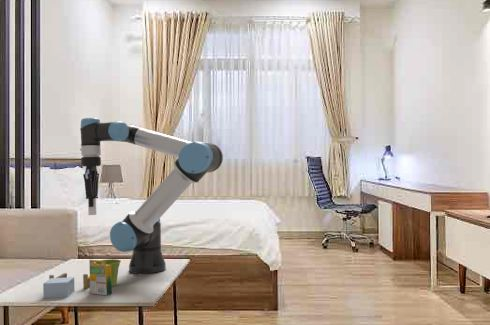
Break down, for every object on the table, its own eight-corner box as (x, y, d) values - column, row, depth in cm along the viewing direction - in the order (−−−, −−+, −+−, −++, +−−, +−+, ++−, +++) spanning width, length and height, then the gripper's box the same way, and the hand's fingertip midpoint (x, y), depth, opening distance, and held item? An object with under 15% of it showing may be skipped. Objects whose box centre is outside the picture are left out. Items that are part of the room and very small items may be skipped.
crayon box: (112, 293, 168) (111, 259, 168) (106, 295, 165) (105, 260, 166) (95, 291, 171) (94, 258, 171) (89, 293, 169) (88, 259, 169)
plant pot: (126, 283, 183) (125, 259, 183) (111, 289, 174) (111, 264, 174) (105, 281, 186) (104, 258, 186) (89, 287, 177) (88, 263, 178)
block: (74, 291, 173) (74, 277, 173) (68, 297, 165) (67, 282, 165) (51, 292, 173) (50, 278, 173) (43, 298, 165) (43, 283, 165)
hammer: (99, 280, 189) (98, 267, 189) (87, 288, 176) (86, 274, 176) (63, 281, 190) (63, 268, 190) (48, 289, 176) (48, 275, 176)
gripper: (87, 157, 206) (88, 213, 205) (76, 156, 193) (77, 216, 192) (105, 156, 206) (106, 213, 205) (95, 155, 193) (96, 216, 192)
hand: (92, 214), depth 199 cm, fingers closed
